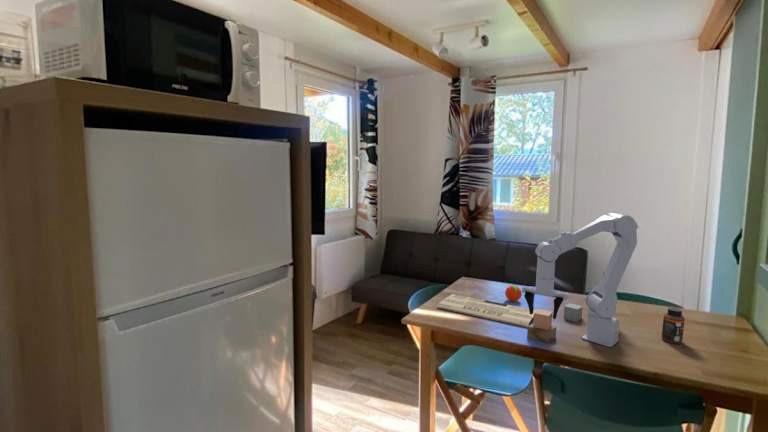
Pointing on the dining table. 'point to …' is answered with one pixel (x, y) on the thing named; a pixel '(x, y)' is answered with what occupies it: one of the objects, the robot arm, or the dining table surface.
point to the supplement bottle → (673, 326)
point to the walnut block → (541, 333)
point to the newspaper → (487, 309)
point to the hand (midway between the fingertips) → (542, 315)
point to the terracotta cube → (542, 319)
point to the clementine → (513, 293)
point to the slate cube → (573, 312)
